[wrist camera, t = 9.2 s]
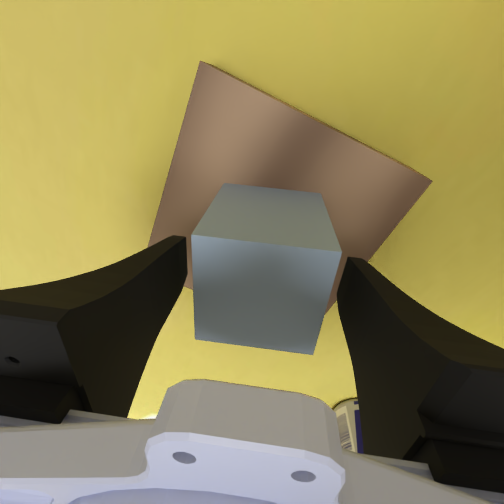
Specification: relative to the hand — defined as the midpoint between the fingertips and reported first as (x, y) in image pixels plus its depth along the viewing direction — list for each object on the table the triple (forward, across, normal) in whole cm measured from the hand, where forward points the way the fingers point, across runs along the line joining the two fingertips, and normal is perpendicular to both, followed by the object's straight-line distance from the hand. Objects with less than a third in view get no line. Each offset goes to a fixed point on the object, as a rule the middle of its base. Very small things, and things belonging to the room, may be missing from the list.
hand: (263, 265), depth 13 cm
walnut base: (+6, 0, 0) cm, 6 cm away
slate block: (+4, 0, 0) cm, 4 cm away
